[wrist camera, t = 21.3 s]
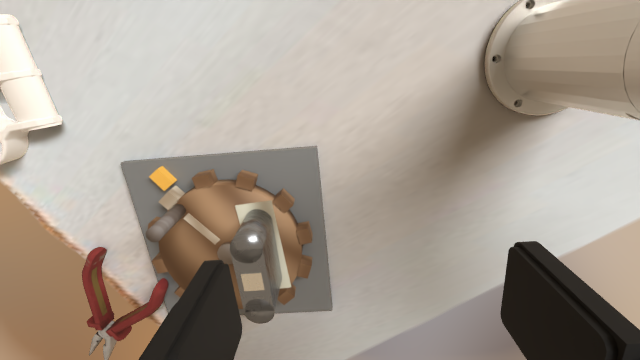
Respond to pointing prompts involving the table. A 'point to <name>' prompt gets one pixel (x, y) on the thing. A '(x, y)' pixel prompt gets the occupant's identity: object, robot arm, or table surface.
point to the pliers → (103, 309)
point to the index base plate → (273, 175)
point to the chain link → (257, 265)
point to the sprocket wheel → (225, 229)
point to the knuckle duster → (21, 92)
